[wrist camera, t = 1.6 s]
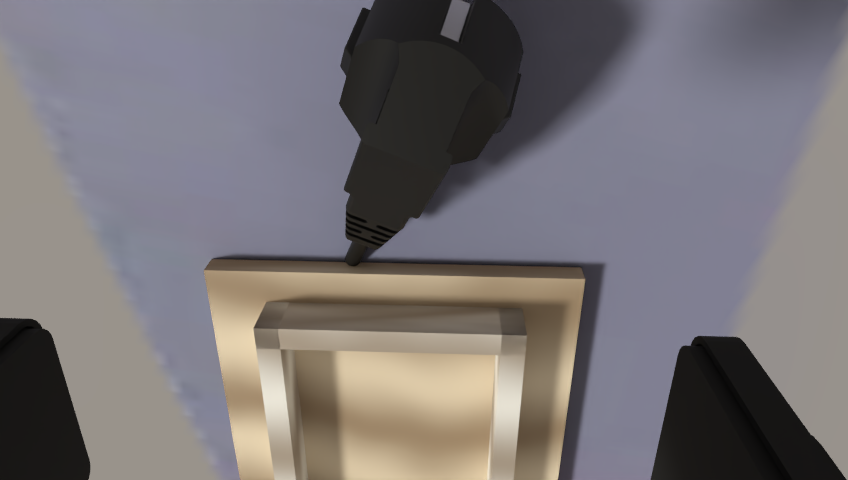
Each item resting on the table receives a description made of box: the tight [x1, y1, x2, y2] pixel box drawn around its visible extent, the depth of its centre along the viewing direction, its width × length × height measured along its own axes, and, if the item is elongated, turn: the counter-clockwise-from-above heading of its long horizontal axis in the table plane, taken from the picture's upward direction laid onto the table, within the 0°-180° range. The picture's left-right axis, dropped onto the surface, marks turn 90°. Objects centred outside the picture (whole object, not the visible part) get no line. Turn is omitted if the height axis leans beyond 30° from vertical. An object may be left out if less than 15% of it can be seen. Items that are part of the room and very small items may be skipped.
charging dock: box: [204, 259, 585, 480], centre depth 30 cm, size 16×16×3 cm
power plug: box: [339, 0, 523, 266], centre depth 23 cm, size 6×8×12 cm
